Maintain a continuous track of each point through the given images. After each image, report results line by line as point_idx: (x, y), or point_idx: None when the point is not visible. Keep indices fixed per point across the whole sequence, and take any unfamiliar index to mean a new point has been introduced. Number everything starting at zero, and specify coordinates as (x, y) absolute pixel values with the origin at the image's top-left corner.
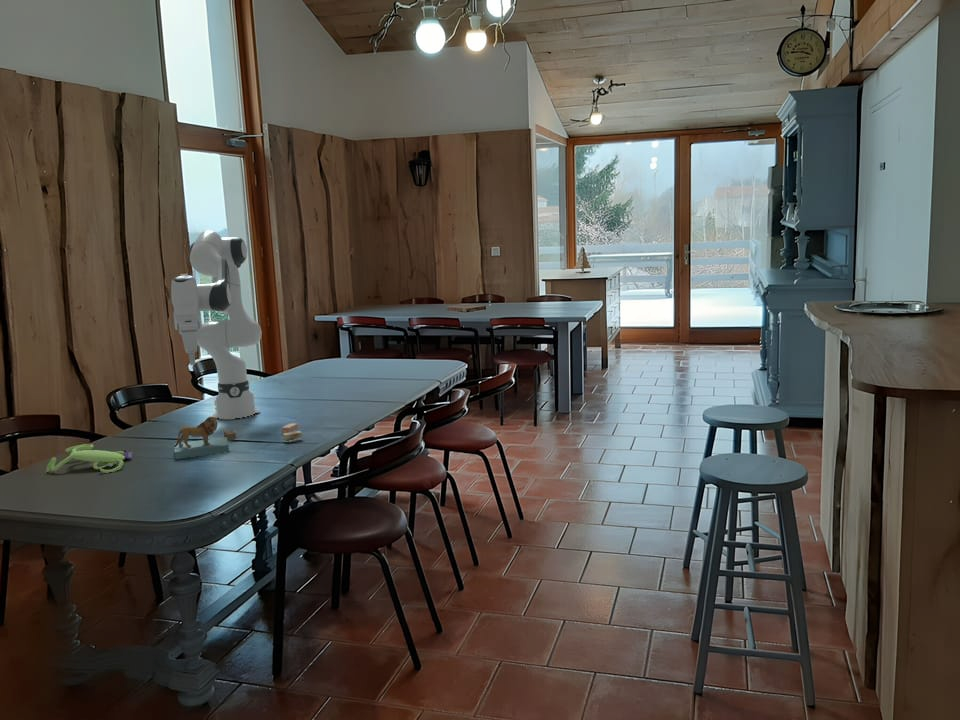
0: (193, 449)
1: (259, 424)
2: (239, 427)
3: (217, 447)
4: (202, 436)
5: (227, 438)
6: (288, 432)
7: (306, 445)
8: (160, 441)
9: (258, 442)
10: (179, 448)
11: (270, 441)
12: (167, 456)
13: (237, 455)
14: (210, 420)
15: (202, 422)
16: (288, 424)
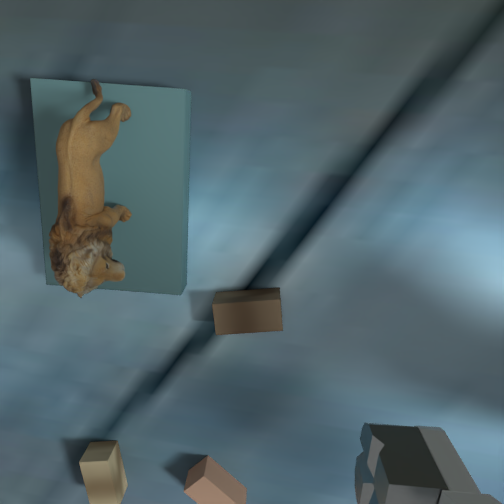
0: (39, 155)
1: None
2: (425, 362)
3: (45, 244)
4: (110, 208)
5: (217, 297)
6: (188, 476)
7: (30, 480)
8: (409, 39)
9: (146, 376)
10: (85, 102)
11: (138, 409)
12: (113, 53)
13: (3, 291)
14: (51, 266)
15: (59, 227)
16: (233, 501)
